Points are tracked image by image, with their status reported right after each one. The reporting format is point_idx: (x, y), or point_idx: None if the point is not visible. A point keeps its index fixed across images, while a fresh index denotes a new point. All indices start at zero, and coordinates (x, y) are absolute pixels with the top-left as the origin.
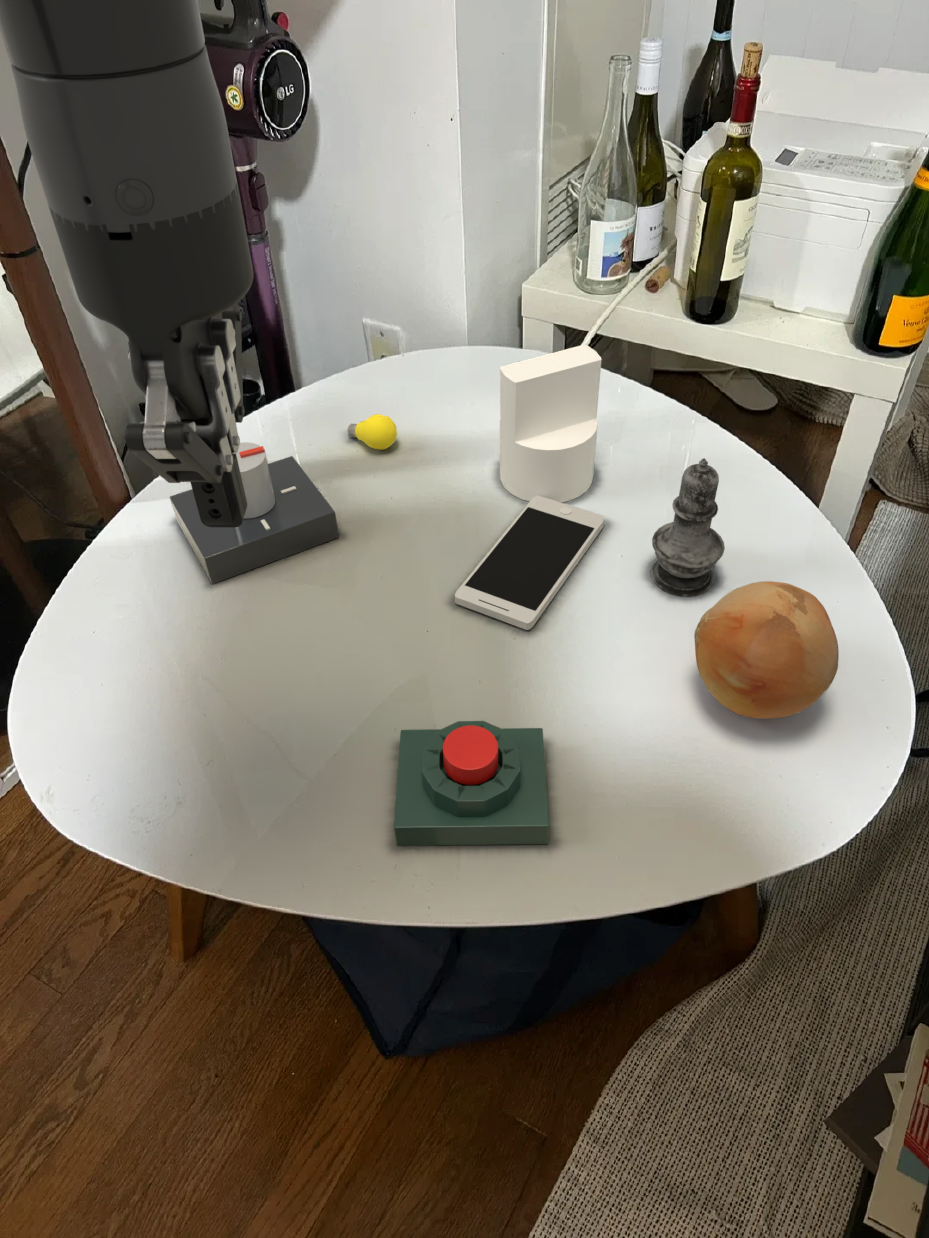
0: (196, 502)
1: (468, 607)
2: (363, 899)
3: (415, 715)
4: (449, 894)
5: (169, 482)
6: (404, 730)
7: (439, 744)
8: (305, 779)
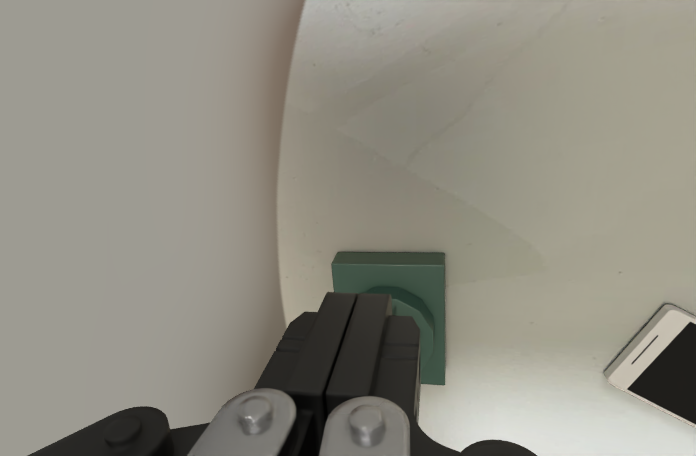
0: (313, 323)
1: (653, 318)
2: (287, 228)
3: (487, 262)
4: (299, 291)
5: (114, 415)
6: (442, 269)
7: (403, 314)
8: (406, 162)
